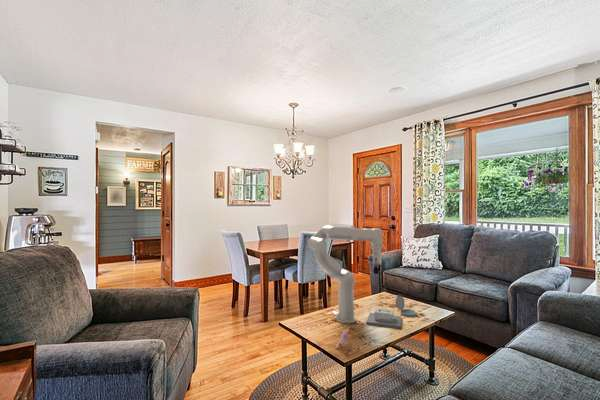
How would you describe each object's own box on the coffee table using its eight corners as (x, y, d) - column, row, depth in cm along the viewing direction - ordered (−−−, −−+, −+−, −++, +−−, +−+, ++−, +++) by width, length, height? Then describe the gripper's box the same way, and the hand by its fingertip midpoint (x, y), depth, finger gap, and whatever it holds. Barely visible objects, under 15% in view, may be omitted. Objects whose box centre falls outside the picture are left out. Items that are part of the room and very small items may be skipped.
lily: (346, 341, 159) (337, 325, 160) (363, 338, 152) (353, 322, 152) (335, 356, 150) (326, 340, 151) (353, 355, 143) (343, 338, 143)
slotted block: (374, 320, 181) (374, 312, 181) (375, 316, 188) (375, 308, 188) (392, 322, 177) (392, 314, 177) (393, 318, 184) (393, 310, 184)
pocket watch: (402, 293, 203) (422, 298, 192) (402, 309, 203) (422, 315, 192) (393, 296, 197) (414, 302, 186) (394, 312, 197) (414, 319, 185)
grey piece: (366, 324, 178) (366, 314, 179) (369, 314, 193) (369, 305, 194) (400, 328, 171) (400, 318, 171) (401, 318, 186) (401, 309, 186)
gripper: (381, 248, 186) (381, 275, 185) (383, 245, 202) (384, 269, 202) (369, 248, 188) (369, 274, 188) (372, 244, 205) (373, 269, 204)
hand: (377, 272), depth 195 cm, fingers open, 9 cm apart
